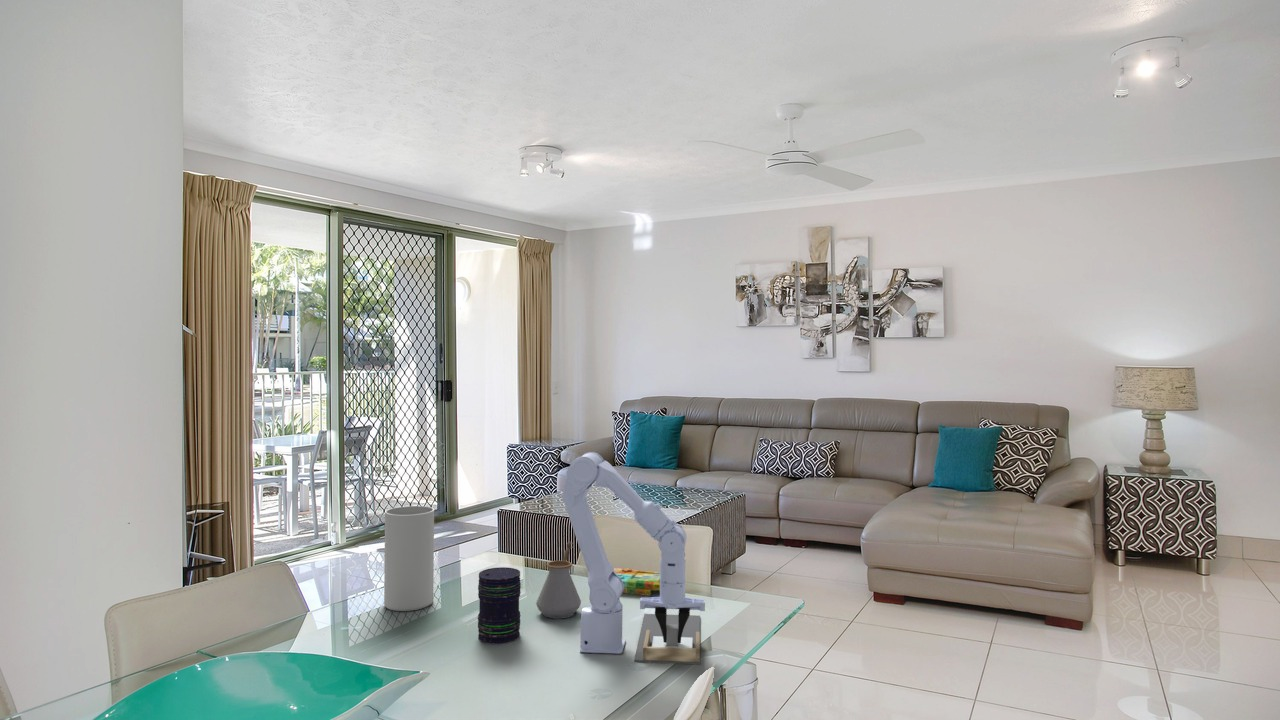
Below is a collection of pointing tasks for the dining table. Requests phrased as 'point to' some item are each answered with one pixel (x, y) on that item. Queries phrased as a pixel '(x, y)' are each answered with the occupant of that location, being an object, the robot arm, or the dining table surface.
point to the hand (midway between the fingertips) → (672, 641)
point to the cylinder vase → (409, 558)
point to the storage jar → (499, 605)
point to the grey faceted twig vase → (559, 590)
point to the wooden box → (671, 651)
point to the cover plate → (681, 645)
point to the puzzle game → (639, 581)
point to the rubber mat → (655, 630)
